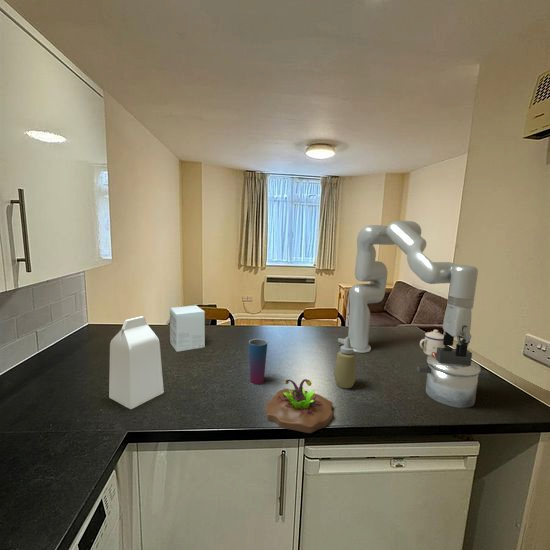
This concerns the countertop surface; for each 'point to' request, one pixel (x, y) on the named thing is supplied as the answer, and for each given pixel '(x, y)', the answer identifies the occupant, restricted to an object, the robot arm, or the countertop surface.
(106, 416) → the countertop surface
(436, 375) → the pot
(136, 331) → the milk
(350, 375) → the squeeze bottle
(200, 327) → the supplement box
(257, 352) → the cup
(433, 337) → the teacup with lid
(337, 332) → the countertop surface
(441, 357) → the lid
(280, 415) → the plant
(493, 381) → the countertop surface
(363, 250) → the robot arm
